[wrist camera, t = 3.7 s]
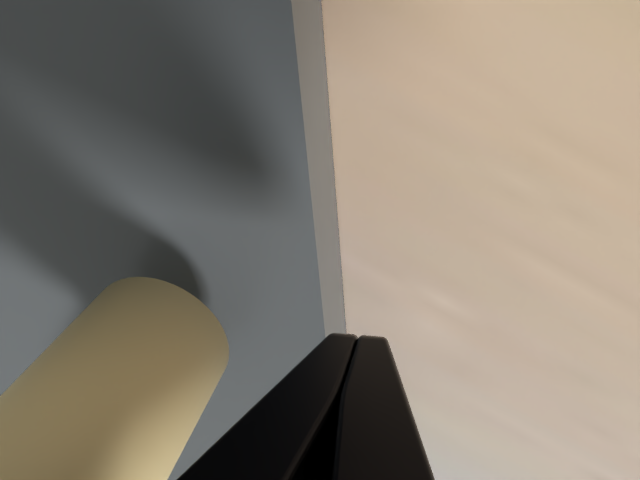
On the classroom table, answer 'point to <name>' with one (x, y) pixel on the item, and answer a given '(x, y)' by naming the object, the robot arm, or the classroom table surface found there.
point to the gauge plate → (170, 177)
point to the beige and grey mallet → (115, 388)
